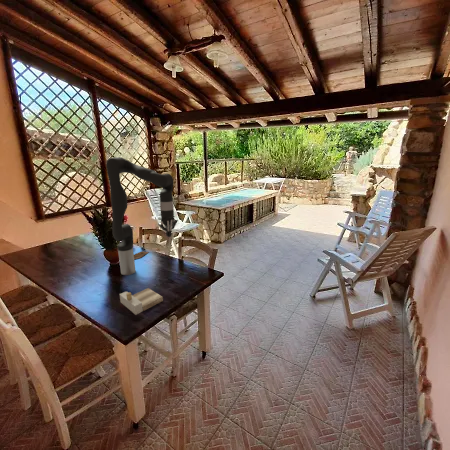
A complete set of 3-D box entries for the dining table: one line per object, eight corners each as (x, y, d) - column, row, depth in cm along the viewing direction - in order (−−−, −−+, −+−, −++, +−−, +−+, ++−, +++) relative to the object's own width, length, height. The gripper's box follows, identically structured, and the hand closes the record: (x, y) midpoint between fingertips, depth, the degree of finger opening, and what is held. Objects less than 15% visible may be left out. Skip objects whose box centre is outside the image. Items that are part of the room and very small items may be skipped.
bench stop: (120, 302, 136) (118, 289, 134) (127, 299, 139) (126, 286, 137) (135, 314, 126) (133, 300, 123) (142, 311, 129) (141, 297, 126)
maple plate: (129, 301, 138) (129, 296, 137) (148, 292, 146) (148, 287, 145) (143, 311, 129) (142, 306, 128) (163, 301, 137) (162, 296, 137)
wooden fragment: (144, 250, 206) (144, 249, 206) (152, 254, 199) (152, 253, 199) (114, 261, 187) (114, 260, 187) (122, 265, 180) (122, 264, 180)
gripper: (172, 205, 154) (174, 232, 159) (153, 209, 144) (156, 237, 149) (180, 207, 149) (181, 235, 154) (161, 211, 140) (163, 240, 145)
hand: (169, 236), depth 152 cm, fingers closed
